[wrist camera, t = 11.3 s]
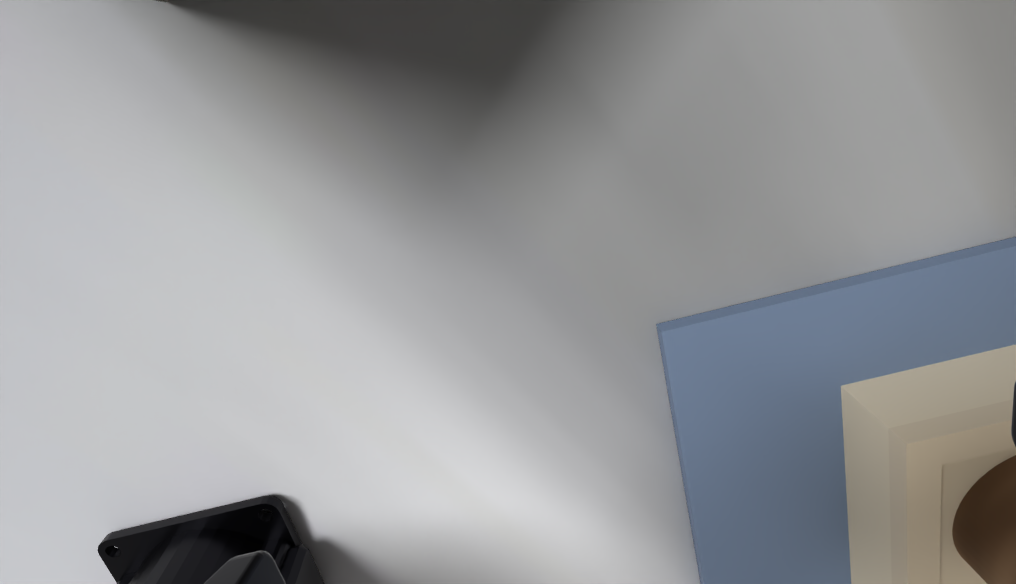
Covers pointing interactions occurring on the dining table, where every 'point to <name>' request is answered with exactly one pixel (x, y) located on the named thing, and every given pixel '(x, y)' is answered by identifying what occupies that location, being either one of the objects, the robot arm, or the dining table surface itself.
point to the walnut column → (989, 525)
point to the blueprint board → (793, 401)
